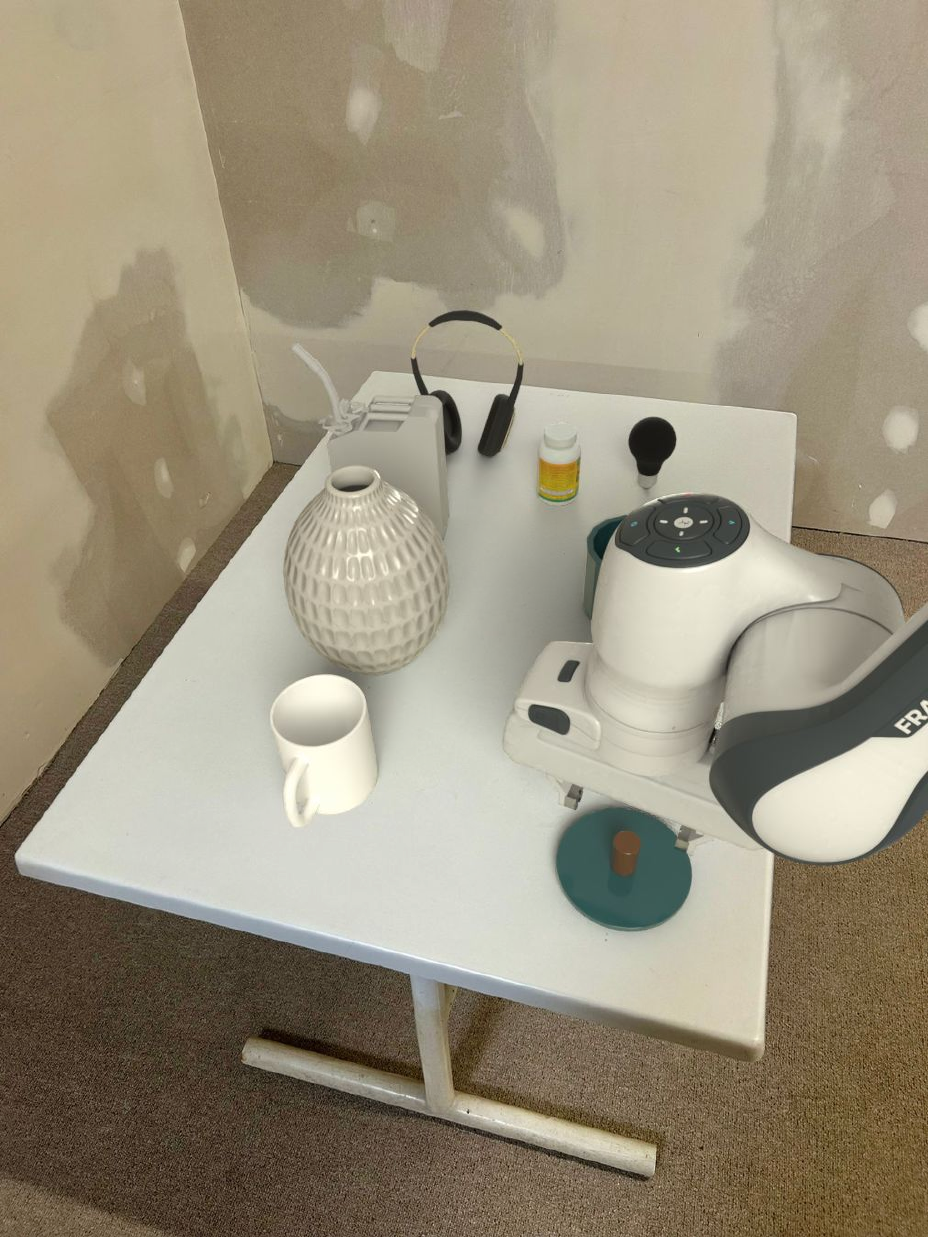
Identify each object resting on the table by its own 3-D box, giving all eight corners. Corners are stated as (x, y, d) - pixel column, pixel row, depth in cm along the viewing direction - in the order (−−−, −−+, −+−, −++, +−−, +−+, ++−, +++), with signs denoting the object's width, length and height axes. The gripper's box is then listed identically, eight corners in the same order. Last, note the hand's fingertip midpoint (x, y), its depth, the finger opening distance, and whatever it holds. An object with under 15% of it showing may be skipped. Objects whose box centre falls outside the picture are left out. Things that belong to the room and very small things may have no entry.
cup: (391, 754, 83) (380, 683, 76) (343, 862, 74) (326, 795, 67) (312, 736, 85) (294, 666, 78) (257, 840, 76) (231, 772, 69)
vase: (473, 615, 96) (465, 443, 81) (424, 724, 85) (405, 549, 70) (339, 589, 100) (308, 420, 85) (276, 690, 89) (228, 518, 74)
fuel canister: (321, 537, 107) (285, 348, 90) (332, 512, 111) (298, 327, 94) (443, 544, 105) (429, 353, 88) (449, 519, 109) (437, 331, 92)
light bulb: (623, 473, 115) (630, 406, 108) (668, 475, 114) (678, 408, 107) (623, 499, 111) (630, 431, 104) (669, 502, 110) (680, 433, 103)
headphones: (425, 430, 124) (414, 294, 111) (526, 437, 122) (528, 299, 108) (411, 463, 118) (398, 324, 105) (518, 471, 116) (519, 330, 102)
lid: (705, 843, 75) (714, 812, 71) (667, 958, 67) (675, 929, 64) (583, 797, 78) (586, 766, 75) (535, 901, 71) (536, 872, 68)
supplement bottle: (532, 485, 114) (534, 421, 107) (572, 480, 114) (576, 416, 107) (541, 509, 110) (543, 444, 103) (582, 504, 110) (587, 439, 104)
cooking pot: (694, 573, 100) (705, 514, 94) (653, 664, 90) (662, 605, 84) (608, 550, 103) (614, 492, 98) (559, 635, 93) (562, 576, 88)
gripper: (816, 726, 57) (769, 840, 66) (529, 634, 64) (524, 749, 73) (797, 800, 53) (750, 909, 62) (493, 693, 60) (493, 807, 69)
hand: (626, 822), depth 68 cm, fingers open, 8 cm apart
